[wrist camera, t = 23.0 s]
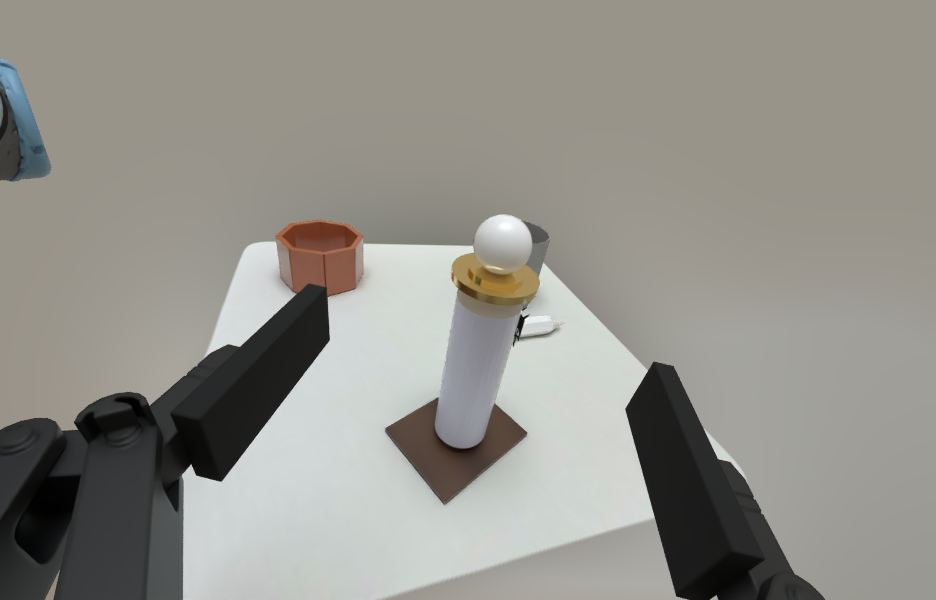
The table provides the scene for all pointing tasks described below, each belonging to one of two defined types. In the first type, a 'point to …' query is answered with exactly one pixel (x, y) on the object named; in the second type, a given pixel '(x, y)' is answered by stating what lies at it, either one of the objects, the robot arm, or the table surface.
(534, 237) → the cup
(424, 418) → the coaster
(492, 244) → the perfume bottle
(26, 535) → the robot arm
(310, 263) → the holder
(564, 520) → the table surface
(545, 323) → the marker
